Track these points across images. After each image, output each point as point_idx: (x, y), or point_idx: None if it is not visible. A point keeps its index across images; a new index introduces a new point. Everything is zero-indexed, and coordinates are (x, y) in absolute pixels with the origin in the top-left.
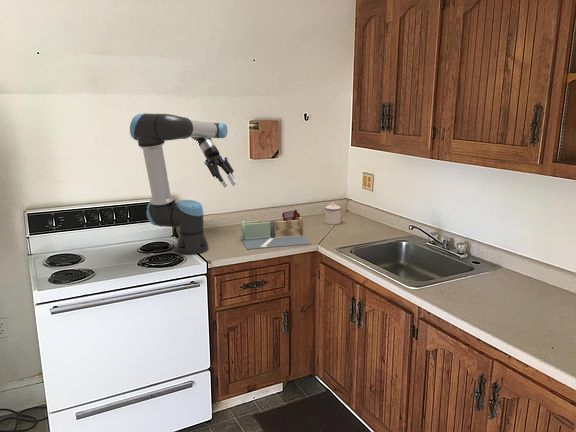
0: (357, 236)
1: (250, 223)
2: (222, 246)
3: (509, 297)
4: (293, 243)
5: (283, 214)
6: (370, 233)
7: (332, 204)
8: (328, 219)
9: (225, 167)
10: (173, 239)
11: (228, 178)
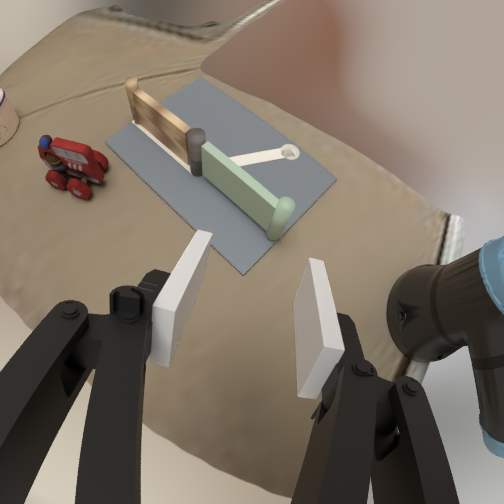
0: (104, 48)
1: (257, 192)
2: (358, 258)
3: None
4: (222, 103)
5: (90, 151)
6: (77, 45)
7: None
8: (11, 122)
9: (137, 415)
10: None
11: (177, 343)
